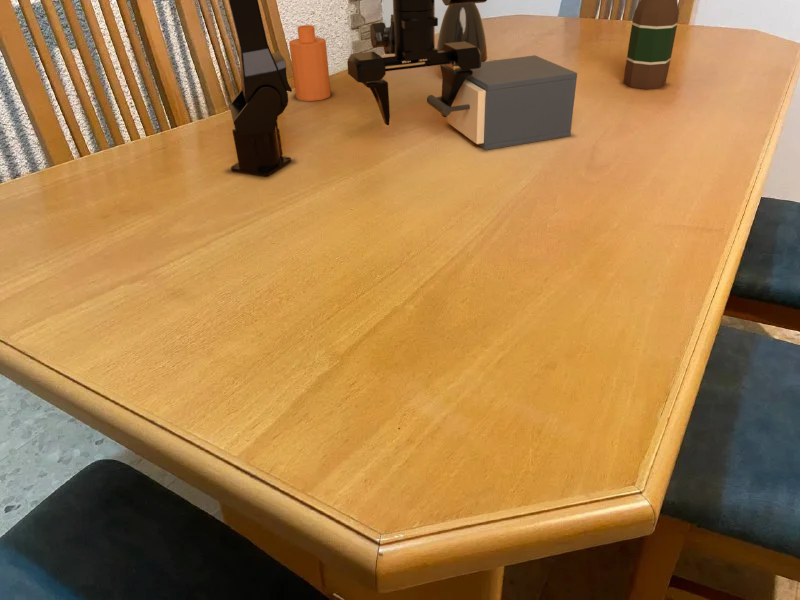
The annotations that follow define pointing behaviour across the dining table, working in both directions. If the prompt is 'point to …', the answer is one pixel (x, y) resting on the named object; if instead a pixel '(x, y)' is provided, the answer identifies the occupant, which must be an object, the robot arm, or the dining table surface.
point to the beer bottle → (651, 43)
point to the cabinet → (525, 100)
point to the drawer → (465, 110)
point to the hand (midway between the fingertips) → (415, 120)
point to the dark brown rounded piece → (463, 28)
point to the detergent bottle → (309, 65)
